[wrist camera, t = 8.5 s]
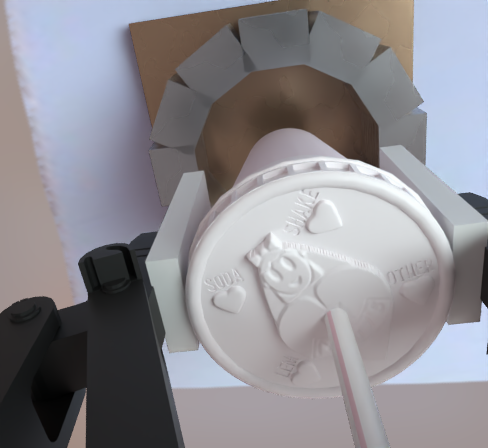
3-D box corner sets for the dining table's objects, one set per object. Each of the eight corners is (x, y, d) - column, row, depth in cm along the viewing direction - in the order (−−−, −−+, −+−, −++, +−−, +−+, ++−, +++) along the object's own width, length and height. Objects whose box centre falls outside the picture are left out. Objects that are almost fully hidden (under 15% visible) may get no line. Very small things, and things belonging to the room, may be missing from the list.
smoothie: (285, 263, 21) (338, 635, 8) (182, 172, 19) (50, 470, 7) (395, 169, 19) (676, 471, 7) (291, 58, 17) (399, 173, 5)
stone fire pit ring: (133, 23, 22) (106, 25, 18) (407, -20, 21) (444, -28, 17) (185, 256, 27) (173, 299, 23) (404, 231, 26) (432, 271, 22)
